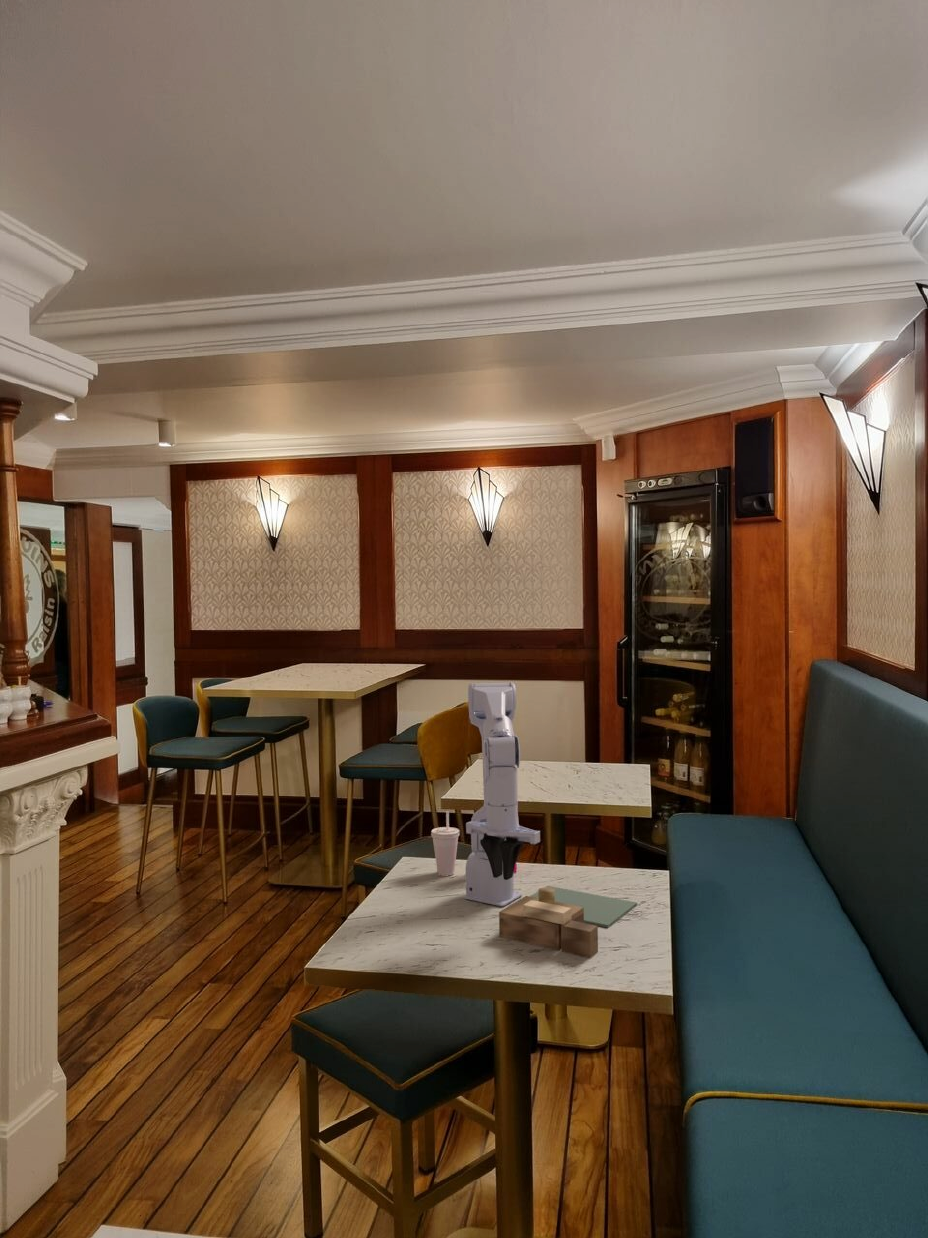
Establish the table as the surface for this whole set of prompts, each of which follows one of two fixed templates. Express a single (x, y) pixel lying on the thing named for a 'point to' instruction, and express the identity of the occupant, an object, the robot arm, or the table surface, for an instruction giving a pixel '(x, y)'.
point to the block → (547, 912)
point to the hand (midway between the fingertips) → (502, 877)
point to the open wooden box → (555, 935)
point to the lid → (544, 895)
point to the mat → (594, 906)
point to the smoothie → (445, 847)
